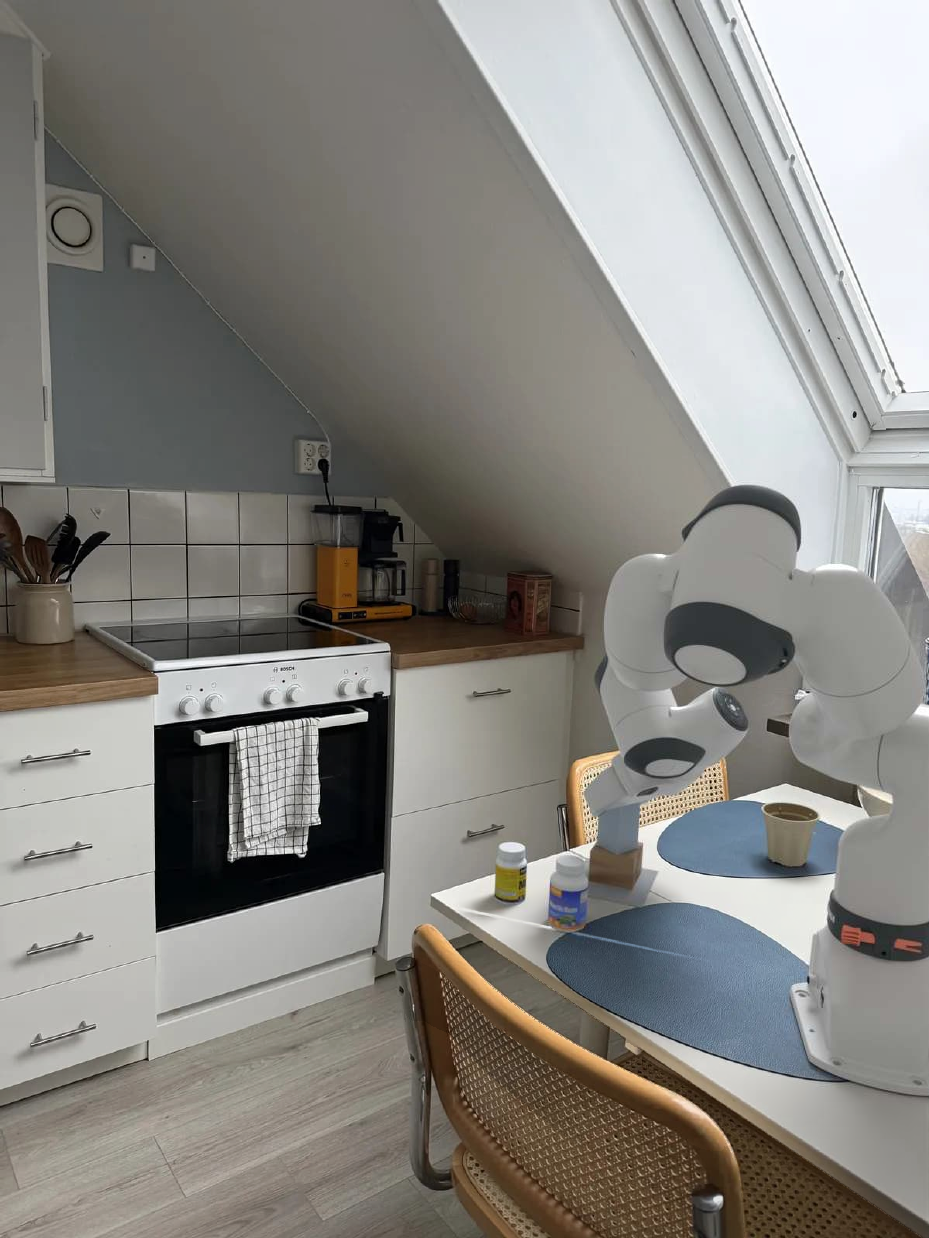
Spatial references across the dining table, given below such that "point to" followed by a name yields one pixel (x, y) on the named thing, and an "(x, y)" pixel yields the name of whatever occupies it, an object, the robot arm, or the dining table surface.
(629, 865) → the walnut block
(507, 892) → the supplement bottle
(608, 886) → the mat
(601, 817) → the slate pillar
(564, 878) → the pill bottle
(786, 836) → the flower pot
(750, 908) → the dining table surface
